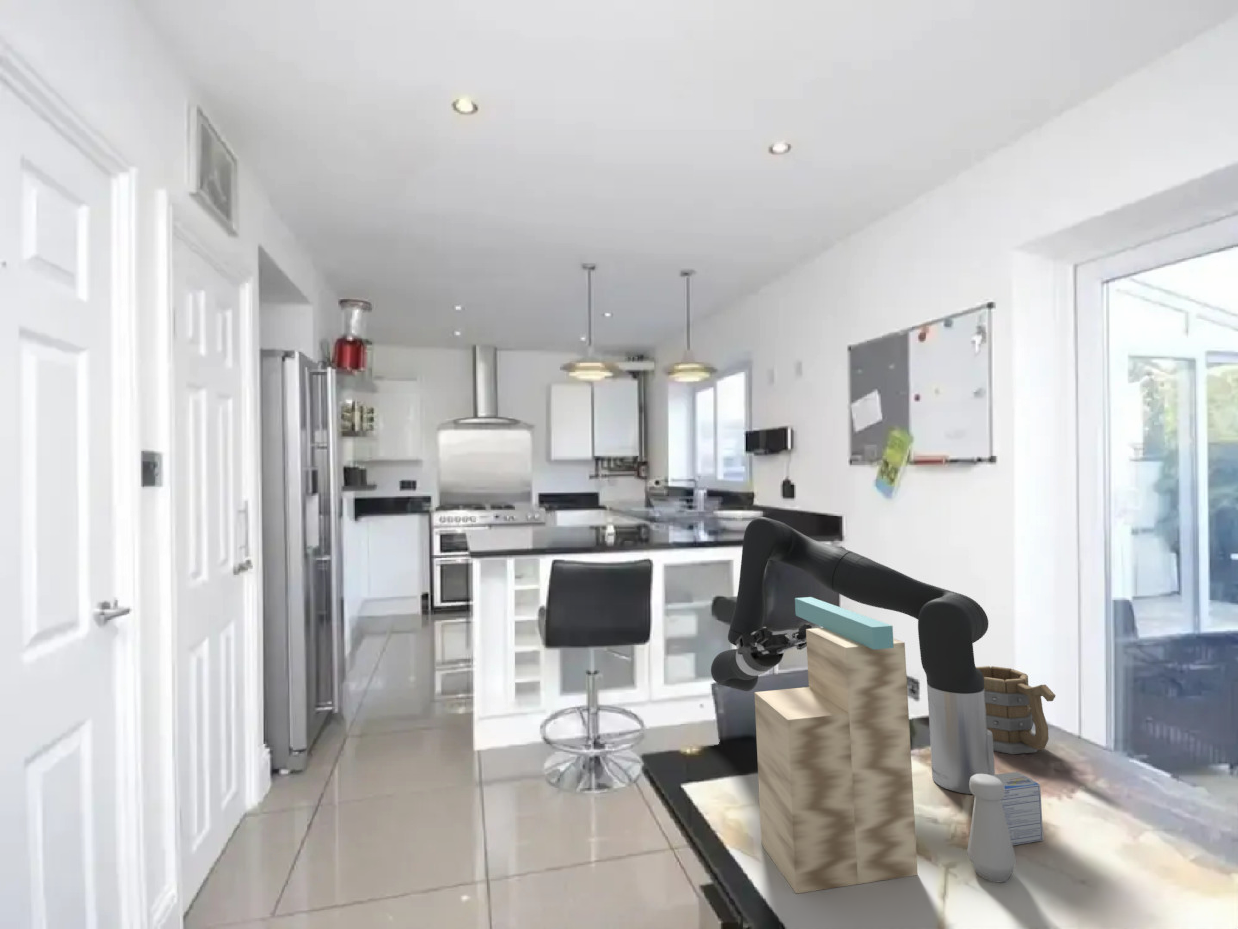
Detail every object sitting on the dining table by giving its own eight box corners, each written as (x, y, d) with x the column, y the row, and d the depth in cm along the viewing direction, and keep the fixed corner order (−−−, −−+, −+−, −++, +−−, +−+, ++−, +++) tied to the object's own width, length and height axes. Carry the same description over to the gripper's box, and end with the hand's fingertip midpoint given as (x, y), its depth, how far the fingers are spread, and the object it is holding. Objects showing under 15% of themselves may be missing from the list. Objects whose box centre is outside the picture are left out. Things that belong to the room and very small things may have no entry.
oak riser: (869, 829, 99) (858, 624, 100) (917, 874, 87) (904, 642, 88) (761, 844, 96) (751, 633, 97) (796, 893, 84) (784, 653, 85)
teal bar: (811, 614, 109) (810, 597, 110) (893, 647, 86) (892, 625, 86) (795, 615, 109) (794, 598, 109) (873, 649, 85) (872, 627, 85)
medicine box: (1020, 826, 98) (1017, 770, 98) (1044, 842, 94) (1041, 783, 94) (976, 833, 97) (972, 776, 97) (998, 849, 92) (994, 789, 93)
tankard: (953, 732, 135) (949, 661, 136) (1007, 727, 136) (1003, 657, 137) (1023, 773, 115) (1018, 691, 116) (1085, 767, 117) (1080, 686, 117)
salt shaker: (1024, 888, 83) (1018, 789, 84) (977, 885, 84) (971, 786, 85) (1006, 862, 89) (1000, 769, 89) (962, 859, 90) (957, 767, 91)
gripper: (722, 637, 130) (747, 613, 116) (786, 633, 133) (818, 608, 119) (729, 674, 126) (756, 654, 112) (795, 669, 129) (829, 648, 115)
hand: (787, 630), depth 116 cm, fingers open, 8 cm apart
